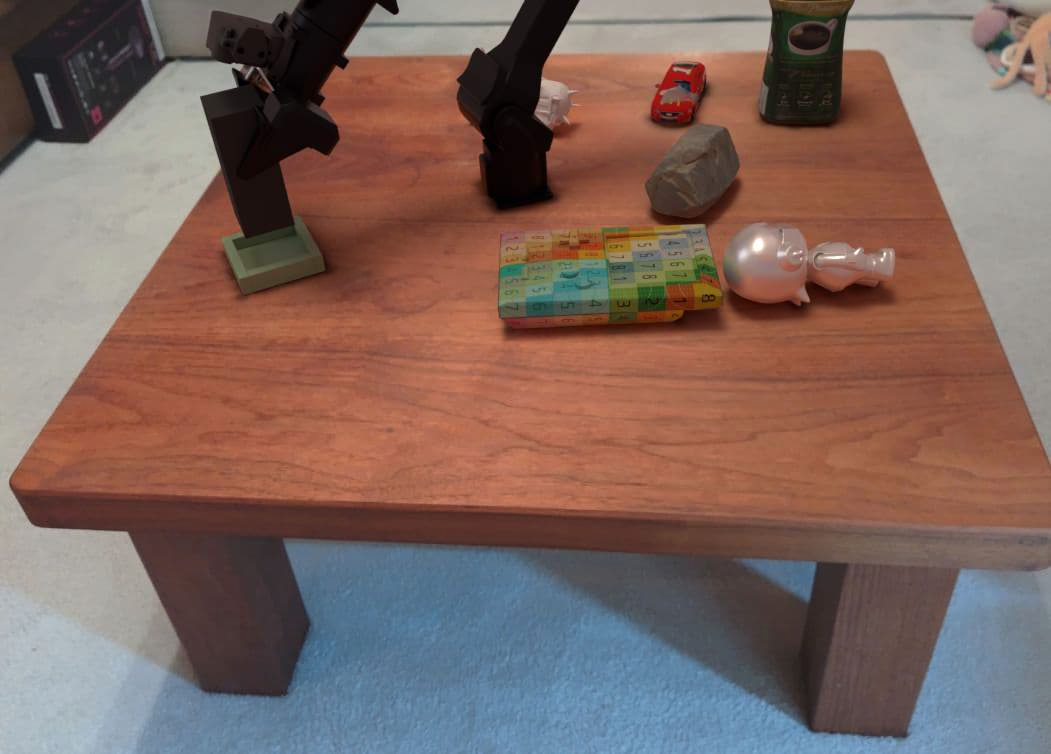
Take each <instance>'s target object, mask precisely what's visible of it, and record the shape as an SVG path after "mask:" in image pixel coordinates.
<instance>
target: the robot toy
mask: <svg viewBox="0 0 1051 754" xmlns="http://www.w3.org/2000/svg"><path fill="white" fill-rule="evenodd" d="M477 48H479V49H481V50H482V51H483V52H484V53H486V50H485V48H484V46H478V47H477ZM581 91H582V90H580V89H577V90H570V88H569V87H568V86H567V85H566V84H565V83H563V82H560V81H556V80H549V79H547V78H545V77H543V76H542V80H541V90H540V99H539V102H538V105H537V107H536V110H535V112H534V115H536V116H537V117H538V118H539V119H540V120H541V121H542V122H543V123H544V124H545V125H547V126H548V127H549V128H550V129H551V130H552V131H554V130H553V129H555V127H556V126H557V127H559V126H560V125H561V124H562V123H565V124H567V125H570V126H571V122H570V121H569V119H568V118H567V117H568V116H569V113H570V111H571V108H576V107H585V105H583V104H576V103H573V99H572V96H573V95H575V94H577V93H578V92H581ZM573 112H575V110H573Z"/></svg>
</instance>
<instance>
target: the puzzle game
mask: <svg viewBox="0 0 1051 754" xmlns="http://www.w3.org/2000/svg"><path fill="white" fill-rule="evenodd" d="M709 238H710V237H709V234H708V230H707V226H706V224H705V223H693V224H670V225H667V224H666V225H647V226H646V225H642V226H641V225H640V226H620V227H619V226H618V227H598V228H597V227H593V228H590V227H589V228H570V229H569V228H568V229H567V228H566V229H565V228H563V229H544V230H543V229H540V230H539V229H538V230H516V231H514V230H513V231H507V232H504V233H500V235H499V258H498V259H499V262H498V263H499V264H498V290H497V291H498V294H497V311H498V318H499V319H501V320H502V321H504V322H505V323H506V324H507V325H509V326H510V327H511V328H513V329H514V330H517V329H535V328H536V329H538V328H561V327H562V328H563V327H580V326H581V327H583V326H585V327H586V326H601V325H602V326H604V325H605V326H606V325H625V324H628V325H629V324H647V323H648V324H649V323H667V322H668V323H669V322H674V321H676V320H679V319H681V318H682V317H683V314H684V312H685V311H695V310H696V311H697V310H714V309H717V308H720V307H722V306H723V304H724V303H723V302H724V294H723V293H724V292H723V290H722V289H723V288H722V286H721V282H720V278H719V274H718V270H717V265H716V262H715V258H714V254H713V250H712V246H711V242H710V239H709Z"/></svg>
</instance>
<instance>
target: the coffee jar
mask: <svg viewBox="0 0 1051 754" xmlns="http://www.w3.org/2000/svg"><path fill="white" fill-rule="evenodd" d="M855 1H856V0H768V3H769V6H770V9H771V22H770V23H771V24H770V33H769V40H768V46H767V52H766V58H765V62H764V67H763V73H762V78H761V82H760V89H759V96H758V110H759V113H760V115H761V116H762V117H763V118H765V119H766V120H767V121H769V122H771V123H776V124H792V125H794V124H795V125H797V124H798V125H800V124H802V125H809V124H812V125H813V124H825V123H829V122H831V121H833V120H834V119H836V118H837V117H838V116H839V114H840V111H841V104H842V95H843V93H842V91H843V65H844V45H845V33H846V25H847V19H848V16H849V12H850V11H851V9H852V8H853V6H854V4H855Z"/></svg>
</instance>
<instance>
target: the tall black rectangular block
mask: <svg viewBox="0 0 1051 754" xmlns="http://www.w3.org/2000/svg"><path fill="white" fill-rule="evenodd" d="M199 99H200V102H201V106H202V109H203V113H204V116H205V119H206V123H207V126H208V129H209V133H210V135H211V138H212V142H213V147H214V150H215V153H216V156H217V159H218V162H219V167H220V169H221V173H222V176H223V179H224V182H225V186H226V190H227V193H228V197H229V200H230V203H231V206H232V209H233V214H234V215H235V218H236V220H237V223H238V225H239V227H240V230H241V232H243V234H244V236H245V238H246V239H248V238H251V237H255V236H258V235H262V234H265V233H269V232H272V231H276V230H279V229H283V228H286V227H290V226H293V225H295V222H294V218H293V217H294V215H293V210H292V207H291V204H290V199H289V194H288V190H287V188H286V183H285V179H284V176H283V171H282V167H281V164H280V162H278V163H276V164H275V165H273V166H271V167H269V168H268V169H266V170H264V171H263V172H261V173H259V174H257V175H256V176H254V177H252V178H250V179H249V180H243V179H241V178H239V177H238V176H237V171H238V168H239V166H240V163H241V161H242V158H243V156H244V154H245V152H246V150H247V147H248V145H249V143H250V141H251V139H252V137H253V134H254V132H255V130H256V128H257V120H256V116H255V112H254V108H253V103H254V104H256V105H258V106H260V107H261V108H263V109H264V106H265V105H264V103H263V101H262V99H261V98H260V96H259V94H258V92H257V91H256V89H255V87H254V85H253V84H248V85H244V86H240V87H237V86H236V87H232V88H228V89H224V90H220V91H216V92H212V93H208V94H203V95H200V96H199Z"/></svg>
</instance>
